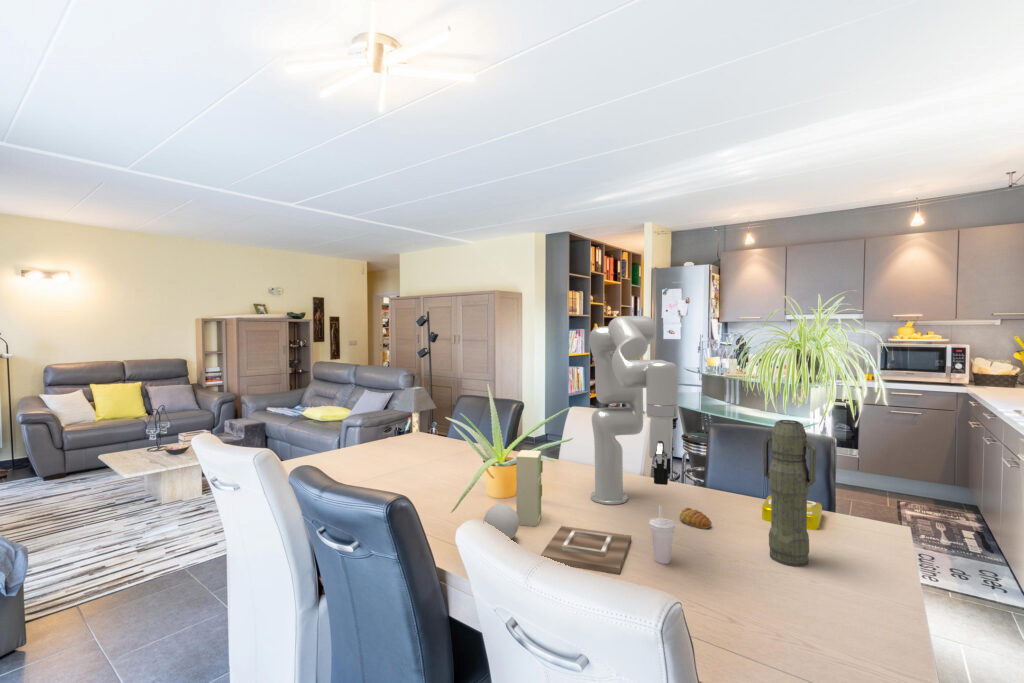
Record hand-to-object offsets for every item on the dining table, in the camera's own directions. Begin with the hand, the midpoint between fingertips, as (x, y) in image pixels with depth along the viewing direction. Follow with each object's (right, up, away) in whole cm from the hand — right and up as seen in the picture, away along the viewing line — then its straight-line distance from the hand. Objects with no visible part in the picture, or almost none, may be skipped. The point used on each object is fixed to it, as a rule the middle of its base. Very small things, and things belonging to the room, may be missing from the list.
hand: (662, 478), depth 125 cm
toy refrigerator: (-32, -21, +27) cm, 47 cm away
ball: (-41, -21, +14) cm, 48 cm away
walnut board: (-18, -21, +7) cm, 28 cm away
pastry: (+18, -21, +25) cm, 37 cm away
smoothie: (0, -21, +1) cm, 21 cm away
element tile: (+49, -21, +28) cm, 60 cm away
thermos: (+32, -21, +1) cm, 39 cm away
